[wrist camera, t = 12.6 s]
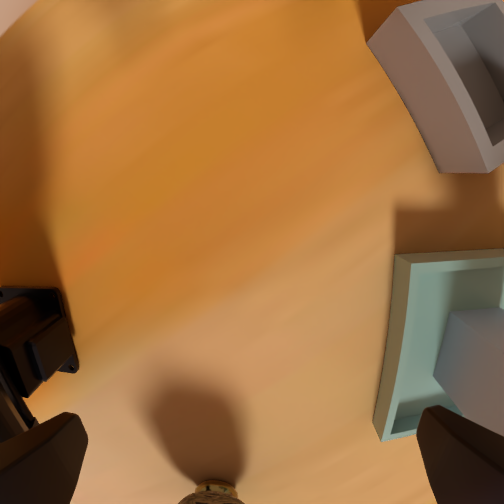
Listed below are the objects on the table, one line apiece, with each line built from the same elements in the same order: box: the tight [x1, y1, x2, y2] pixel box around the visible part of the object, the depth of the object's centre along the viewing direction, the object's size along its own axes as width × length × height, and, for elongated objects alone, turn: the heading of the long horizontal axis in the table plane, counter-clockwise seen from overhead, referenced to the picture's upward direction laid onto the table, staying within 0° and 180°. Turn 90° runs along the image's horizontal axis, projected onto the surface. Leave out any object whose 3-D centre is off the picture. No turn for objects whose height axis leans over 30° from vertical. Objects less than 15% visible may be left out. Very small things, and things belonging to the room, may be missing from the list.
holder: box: [366, 0, 504, 173], centre depth 13 cm, size 9×9×5 cm
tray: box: [372, 248, 504, 442], centre depth 18 cm, size 13×13×2 cm
